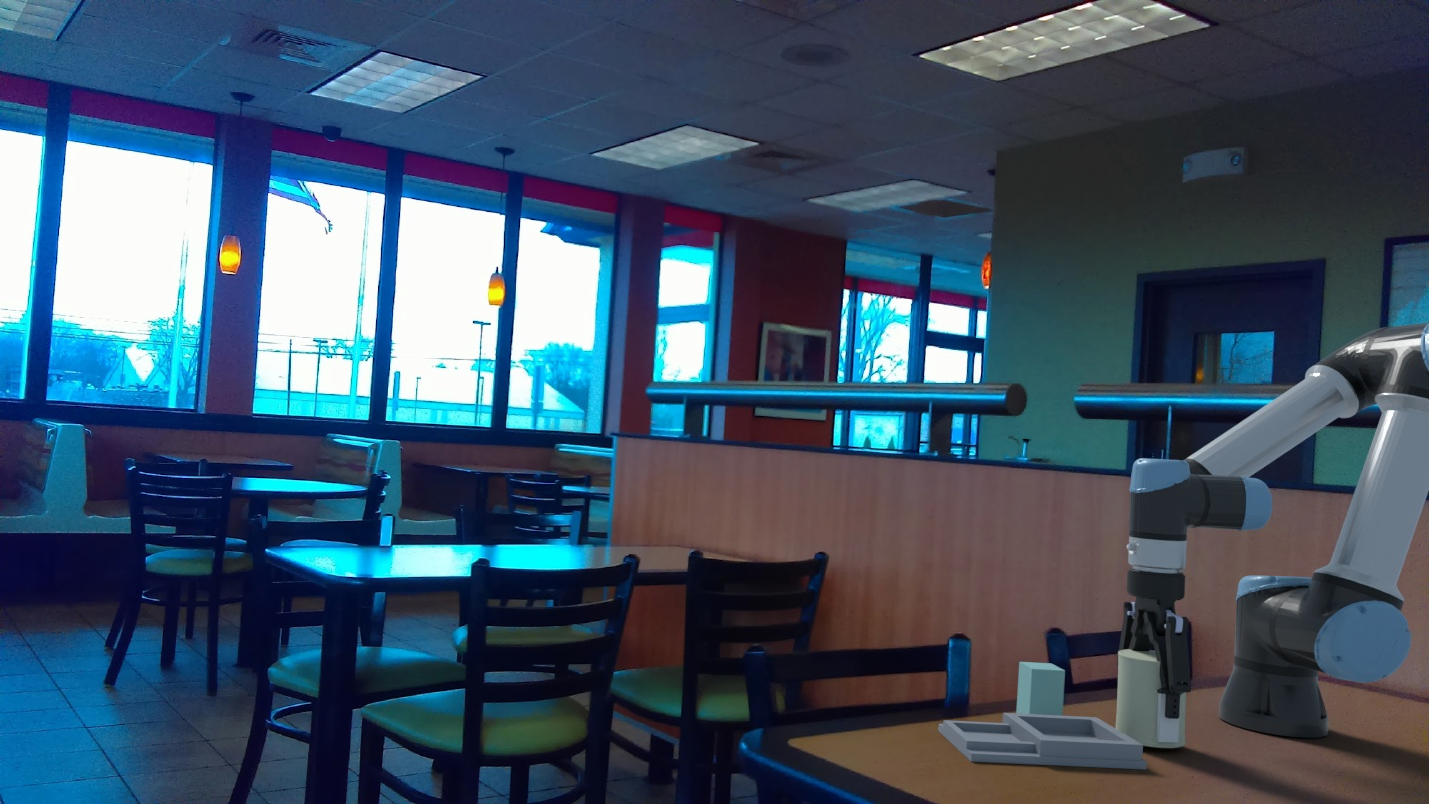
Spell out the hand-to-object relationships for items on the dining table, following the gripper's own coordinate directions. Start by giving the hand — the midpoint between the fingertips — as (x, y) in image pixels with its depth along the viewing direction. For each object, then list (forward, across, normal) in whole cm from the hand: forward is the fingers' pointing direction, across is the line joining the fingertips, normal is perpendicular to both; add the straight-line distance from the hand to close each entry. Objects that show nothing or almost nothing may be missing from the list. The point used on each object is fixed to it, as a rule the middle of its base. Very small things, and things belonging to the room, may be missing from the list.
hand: (1149, 731), depth 151 cm
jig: (+2, +5, -18) cm, 19 cm away
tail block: (+2, -11, -12) cm, 16 cm away
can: (+1, 0, 0) cm, 1 cm away
